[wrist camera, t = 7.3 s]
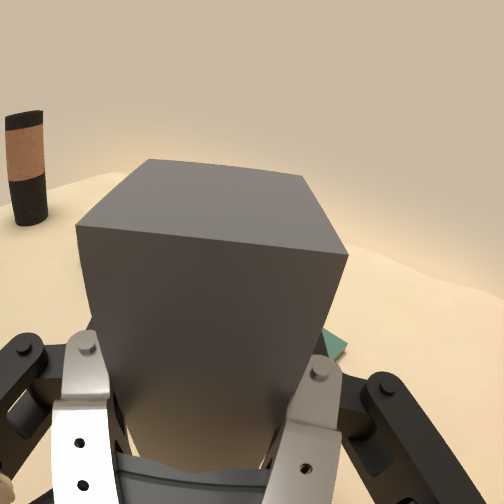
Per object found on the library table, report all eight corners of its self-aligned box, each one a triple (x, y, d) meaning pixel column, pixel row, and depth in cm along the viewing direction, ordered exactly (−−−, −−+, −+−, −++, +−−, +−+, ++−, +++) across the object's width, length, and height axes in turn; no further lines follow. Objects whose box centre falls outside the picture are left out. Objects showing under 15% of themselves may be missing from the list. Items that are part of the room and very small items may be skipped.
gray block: (148, 474, 10) (75, 225, 4) (162, 395, 14) (150, 157, 9) (249, 484, 11) (348, 255, 5) (247, 404, 15) (300, 174, 9)
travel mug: (7, 225, 43) (-4, 118, 33) (27, 209, 50) (20, 112, 40) (37, 228, 44) (27, 114, 34) (56, 210, 51) (51, 108, 41)
